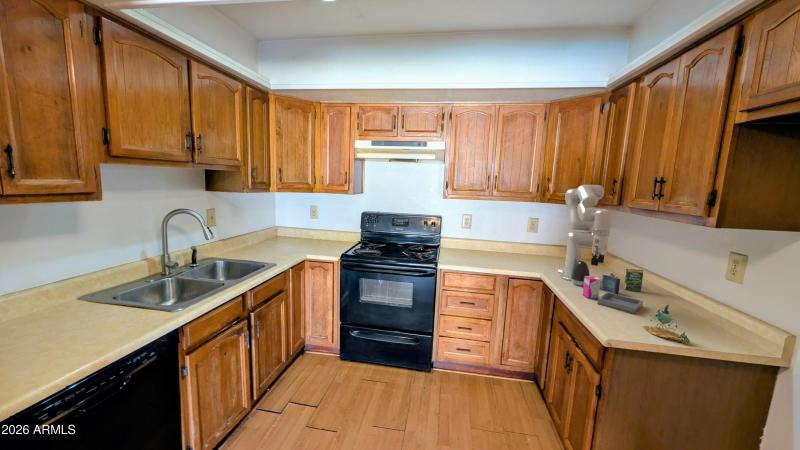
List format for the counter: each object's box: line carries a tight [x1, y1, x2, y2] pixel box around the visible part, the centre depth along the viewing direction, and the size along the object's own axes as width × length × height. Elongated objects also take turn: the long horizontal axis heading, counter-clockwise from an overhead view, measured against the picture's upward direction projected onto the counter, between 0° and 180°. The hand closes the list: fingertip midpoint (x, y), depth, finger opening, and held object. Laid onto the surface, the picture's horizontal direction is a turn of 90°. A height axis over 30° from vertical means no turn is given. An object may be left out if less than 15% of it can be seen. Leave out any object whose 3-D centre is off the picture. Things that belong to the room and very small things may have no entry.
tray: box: [597, 291, 644, 315], centre depth 162 cm, size 16×16×3 cm
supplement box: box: [582, 275, 601, 300], centre depth 172 cm, size 6×6×12 cm
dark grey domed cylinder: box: [571, 260, 591, 287], centre depth 193 cm, size 10×10×15 cm
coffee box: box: [623, 268, 644, 293], centre depth 185 cm, size 8×3×13 cm, turn 66°
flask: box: [600, 272, 621, 295], centre depth 182 cm, size 10×3×12 cm, turn 24°
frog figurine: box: [642, 303, 693, 347], centre depth 130 cm, size 10×18×15 cm, turn 13°
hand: (597, 263), depth 168 cm, fingers open, 9 cm apart
